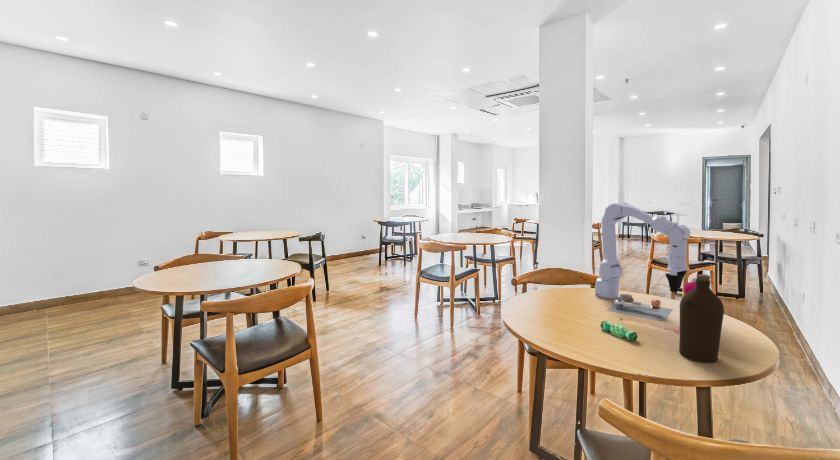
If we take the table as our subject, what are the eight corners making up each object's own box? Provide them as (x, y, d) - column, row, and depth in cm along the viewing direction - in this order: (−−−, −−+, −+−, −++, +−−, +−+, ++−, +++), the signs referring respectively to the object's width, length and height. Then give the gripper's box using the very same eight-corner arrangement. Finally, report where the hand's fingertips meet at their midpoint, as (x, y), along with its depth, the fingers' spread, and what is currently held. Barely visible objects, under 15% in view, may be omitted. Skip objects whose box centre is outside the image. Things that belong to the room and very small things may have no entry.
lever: (612, 304, 156) (613, 294, 155) (615, 302, 159) (616, 292, 158) (658, 313, 144) (659, 302, 144) (661, 310, 148) (661, 300, 147)
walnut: (623, 304, 159) (623, 296, 159) (625, 302, 162) (626, 295, 162) (632, 306, 157) (633, 298, 157) (634, 304, 160) (635, 296, 159)
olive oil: (718, 367, 106) (724, 281, 104) (673, 356, 114) (678, 276, 111) (721, 355, 114) (728, 274, 111) (680, 345, 121) (684, 269, 118)
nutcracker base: (606, 313, 153) (606, 301, 153) (619, 302, 166) (619, 292, 166) (663, 324, 140) (664, 312, 139) (672, 312, 153) (673, 300, 152)
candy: (598, 328, 135) (603, 318, 136) (604, 332, 137) (609, 322, 137) (627, 340, 124) (633, 329, 125) (633, 344, 126) (639, 333, 126)
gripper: (687, 260, 140) (684, 295, 141) (692, 254, 151) (690, 287, 152) (664, 258, 145) (662, 292, 146) (671, 252, 155) (669, 284, 157)
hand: (675, 289), depth 149 cm, fingers open, 7 cm apart
